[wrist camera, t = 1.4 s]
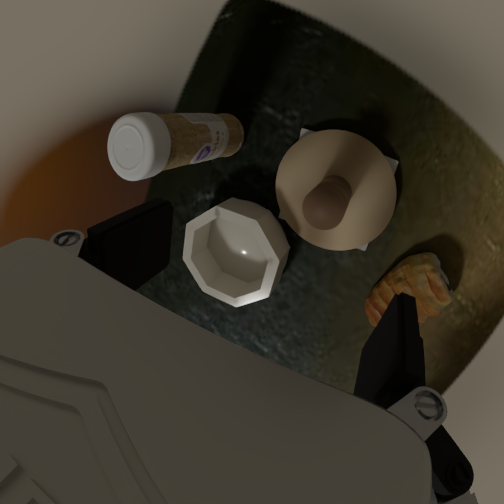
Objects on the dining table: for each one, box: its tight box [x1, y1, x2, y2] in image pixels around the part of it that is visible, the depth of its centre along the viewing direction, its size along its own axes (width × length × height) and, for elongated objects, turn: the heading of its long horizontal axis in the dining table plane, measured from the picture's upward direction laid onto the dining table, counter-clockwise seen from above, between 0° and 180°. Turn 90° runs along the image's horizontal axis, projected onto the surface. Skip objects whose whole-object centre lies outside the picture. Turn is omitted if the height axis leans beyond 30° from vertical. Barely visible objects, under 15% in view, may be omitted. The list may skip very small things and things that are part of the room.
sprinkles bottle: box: [108, 112, 244, 181], centre depth 22 cm, size 5×5×14 cm
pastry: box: [365, 252, 454, 326], centre depth 25 cm, size 9×7×4 cm
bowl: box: [183, 197, 290, 307], centre depth 31 cm, size 10×10×4 cm
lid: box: [276, 130, 397, 250], centre depth 23 cm, size 11×11×7 cm
